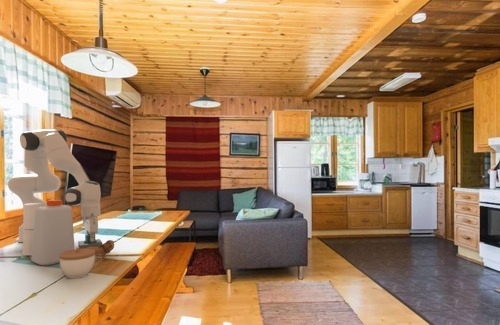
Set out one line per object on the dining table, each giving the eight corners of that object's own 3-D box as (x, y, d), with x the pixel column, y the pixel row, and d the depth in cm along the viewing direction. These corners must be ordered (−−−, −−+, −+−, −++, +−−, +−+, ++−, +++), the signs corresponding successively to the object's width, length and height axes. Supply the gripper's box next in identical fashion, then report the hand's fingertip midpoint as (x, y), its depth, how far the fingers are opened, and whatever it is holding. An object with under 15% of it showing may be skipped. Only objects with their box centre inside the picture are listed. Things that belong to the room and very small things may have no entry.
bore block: (78, 251, 157) (78, 241, 157) (99, 248, 163) (99, 239, 163) (79, 255, 149) (80, 245, 149) (102, 252, 154) (102, 242, 155)
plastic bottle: (78, 259, 144) (79, 200, 144) (42, 267, 131) (43, 202, 132) (63, 253, 152) (64, 198, 153) (27, 261, 140) (29, 200, 140)
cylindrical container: (31, 256, 148) (31, 204, 148) (18, 255, 149) (19, 204, 150) (43, 252, 155) (44, 203, 155) (32, 251, 156) (32, 202, 157)
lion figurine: (113, 257, 147) (113, 238, 147) (114, 260, 143) (115, 240, 143) (78, 261, 140) (79, 242, 140) (79, 264, 135) (79, 244, 135)
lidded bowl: (87, 267, 131) (87, 242, 131) (100, 274, 123) (100, 247, 123) (54, 275, 121) (54, 248, 122) (66, 283, 113) (66, 253, 114)
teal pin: (93, 248, 159) (93, 233, 159) (95, 250, 155) (95, 234, 156) (85, 249, 156) (85, 234, 156) (86, 251, 153) (86, 235, 153)
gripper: (101, 214, 150) (101, 242, 150) (94, 209, 166) (93, 234, 166) (87, 215, 146) (86, 244, 146) (80, 210, 163) (80, 236, 162)
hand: (90, 239), depth 156 cm, fingers open, 8 cm apart
